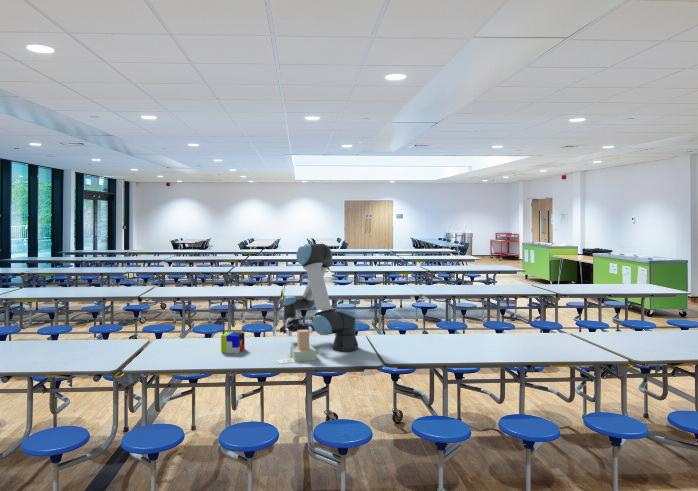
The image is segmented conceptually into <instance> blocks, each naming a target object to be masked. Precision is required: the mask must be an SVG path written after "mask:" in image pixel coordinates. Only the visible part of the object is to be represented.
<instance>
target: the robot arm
mask: <svg viewBox="0 0 698 491" xmlns="http://www.w3.org/2000/svg"><path fill="white" fill-rule="evenodd" d="M332 252H333V251H332V249H331V248H330V247H329V246H328V245H327V244H325V243H306V244H302V245H300V246H299V247H298V248H297V251H296V262H297V263H298V264H299V265H302V267H303V268H302V269H303V270H305V271H306V274H307V277H308V281H307V284H306V287H305V289H304V292H303V293H302V297H299V298H297V297H296V296H294V295H287V296H284V297H283V318H282V323H283V325H281V327H279V332H280V333H282V334H283V335H284V334H286V335H287V336H289V334H290V332H293V333H295V332H296V333H297V330H308V331H309V334H313V331H315V332H316V333H317V334H318V335H320V336H329V335H334V334H335V337H334V340H333V343H332V350H334V351H337V352H354V351H358V350H359V343H358V339H357V336H356V312H355V311H354V310H351V309H346V308H345V309H343V308H336V309H335V308H334V307H333V306H332V305H331V301H330V296H329V295H328V294H329V293H328V289H327V286H326V282H325V278H324V277H325V274H326V273H327V269H329V268H330V267H331V264H332V261H333V253H332ZM313 308H315V312H314V317H313V319H312V324H308V323H305V322H304V323H303V324H302V323H300V321H299V320H298V319H297V311H304V310H310V309H313Z"/></svg>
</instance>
